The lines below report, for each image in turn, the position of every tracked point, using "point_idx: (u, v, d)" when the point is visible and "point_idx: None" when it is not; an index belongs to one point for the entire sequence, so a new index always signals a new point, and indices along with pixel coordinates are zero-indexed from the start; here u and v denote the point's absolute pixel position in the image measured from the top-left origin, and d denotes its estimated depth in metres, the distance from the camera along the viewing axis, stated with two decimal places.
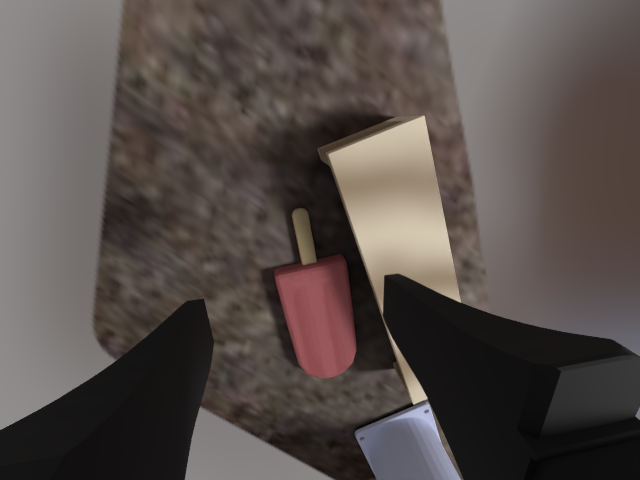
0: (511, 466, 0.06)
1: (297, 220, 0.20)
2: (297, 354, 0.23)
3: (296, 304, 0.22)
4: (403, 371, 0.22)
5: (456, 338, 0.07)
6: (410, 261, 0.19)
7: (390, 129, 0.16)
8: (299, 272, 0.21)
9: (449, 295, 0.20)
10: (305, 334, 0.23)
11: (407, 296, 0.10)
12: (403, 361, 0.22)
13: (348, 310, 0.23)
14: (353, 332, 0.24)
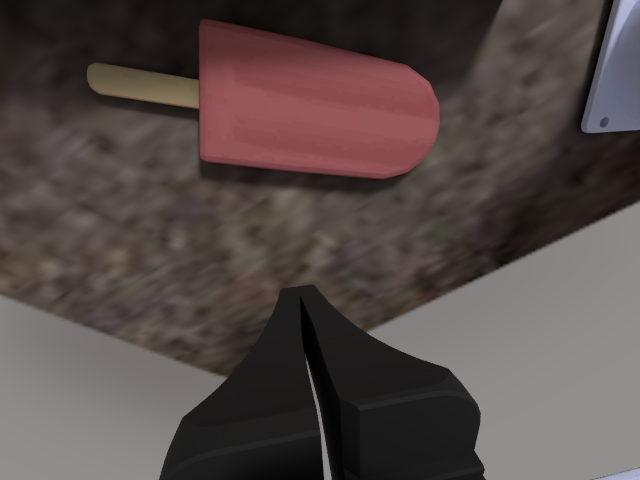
0: None
1: (108, 86, 0.12)
2: (361, 175, 0.14)
3: (263, 143, 0.13)
4: None
5: (321, 360, 0.07)
6: None
7: None
8: (203, 117, 0.12)
9: None
10: (327, 149, 0.13)
11: (305, 310, 0.09)
12: None
13: (310, 50, 0.12)
14: (364, 58, 0.12)
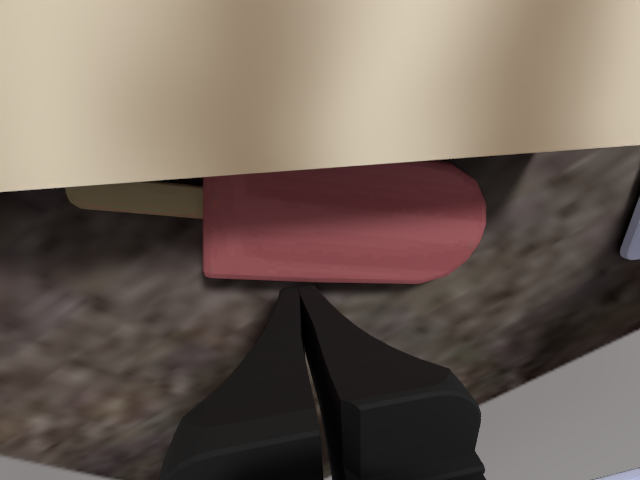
0: None
1: (92, 200, 0.10)
2: (393, 282, 0.12)
3: (280, 257, 0.11)
4: (537, 148, 0.08)
5: (322, 360, 0.07)
6: (159, 33, 0.06)
7: None
8: (207, 233, 0.10)
9: None
10: (355, 258, 0.11)
11: (305, 310, 0.09)
12: (508, 140, 0.08)
13: None
14: None
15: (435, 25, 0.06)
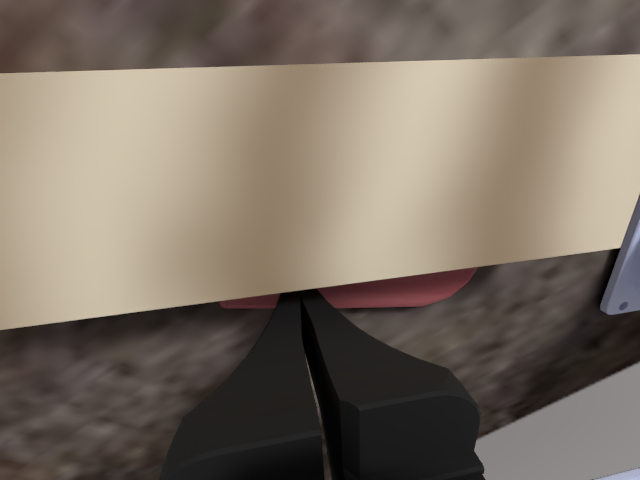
0: None
1: None
2: (398, 306, 0.13)
3: None
4: (512, 259, 0.09)
5: (321, 360, 0.07)
6: (194, 201, 0.07)
7: None
8: None
9: (350, 98, 0.07)
10: (361, 285, 0.12)
11: (305, 310, 0.09)
12: (486, 255, 0.09)
13: None
14: None
15: (422, 177, 0.08)
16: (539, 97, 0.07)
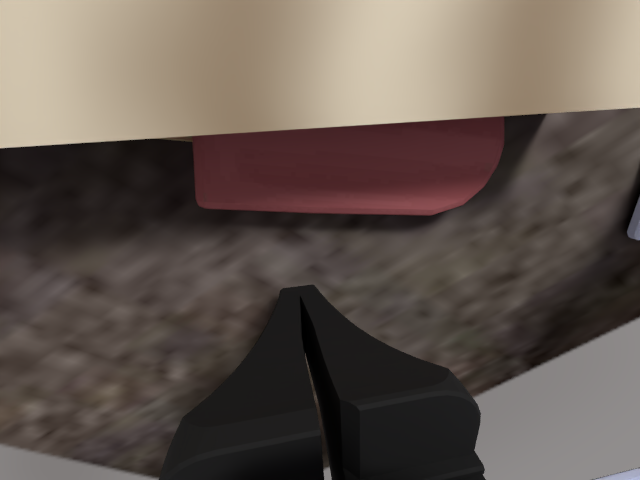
0: None
1: None
2: (404, 213, 0.11)
3: (278, 182, 0.10)
4: (544, 109, 0.07)
5: (321, 360, 0.07)
6: None
7: None
8: (198, 153, 0.09)
9: None
10: (361, 184, 0.10)
11: (305, 310, 0.09)
12: (513, 100, 0.07)
13: None
14: None
15: None
16: None
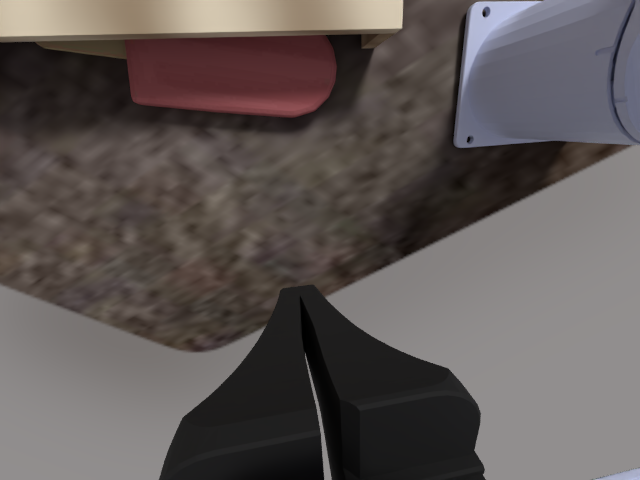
0: None
1: None
2: (274, 113, 0.17)
3: (183, 85, 0.15)
4: (318, 27, 0.13)
5: (321, 360, 0.07)
6: None
7: None
8: (129, 63, 0.15)
9: None
10: (239, 89, 0.16)
11: (305, 310, 0.09)
12: (297, 21, 0.13)
13: None
14: None
15: None
16: None
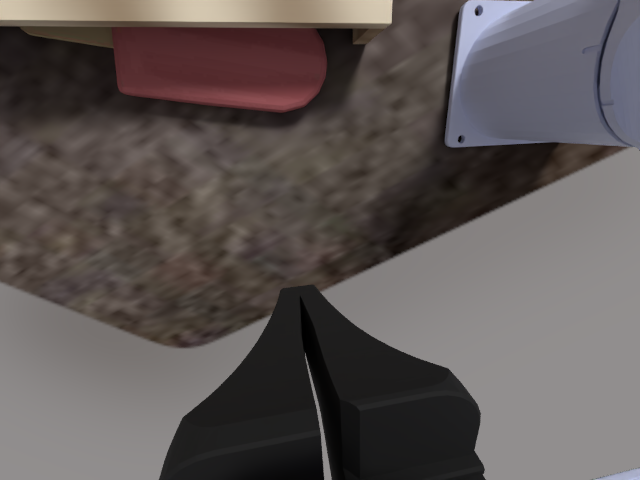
0: None
1: (35, 27, 0.14)
2: (263, 107, 0.16)
3: (171, 76, 0.15)
4: (306, 20, 0.13)
5: (321, 360, 0.07)
6: None
7: None
8: (116, 52, 0.14)
9: None
10: (228, 82, 0.16)
11: (305, 310, 0.09)
12: (285, 12, 0.13)
13: None
14: None
15: None
16: None
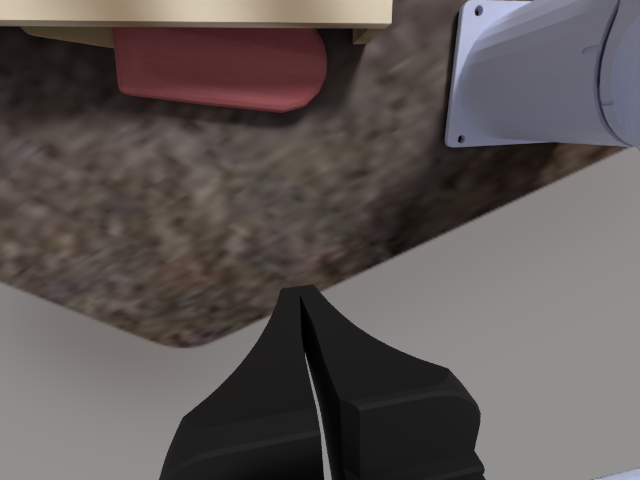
0: None
1: (35, 27, 0.14)
2: (263, 107, 0.16)
3: (171, 77, 0.15)
4: (306, 20, 0.13)
5: (321, 360, 0.07)
6: None
7: None
8: (116, 52, 0.14)
9: None
10: (228, 82, 0.16)
11: (305, 310, 0.09)
12: (285, 12, 0.13)
13: None
14: None
15: None
16: None
